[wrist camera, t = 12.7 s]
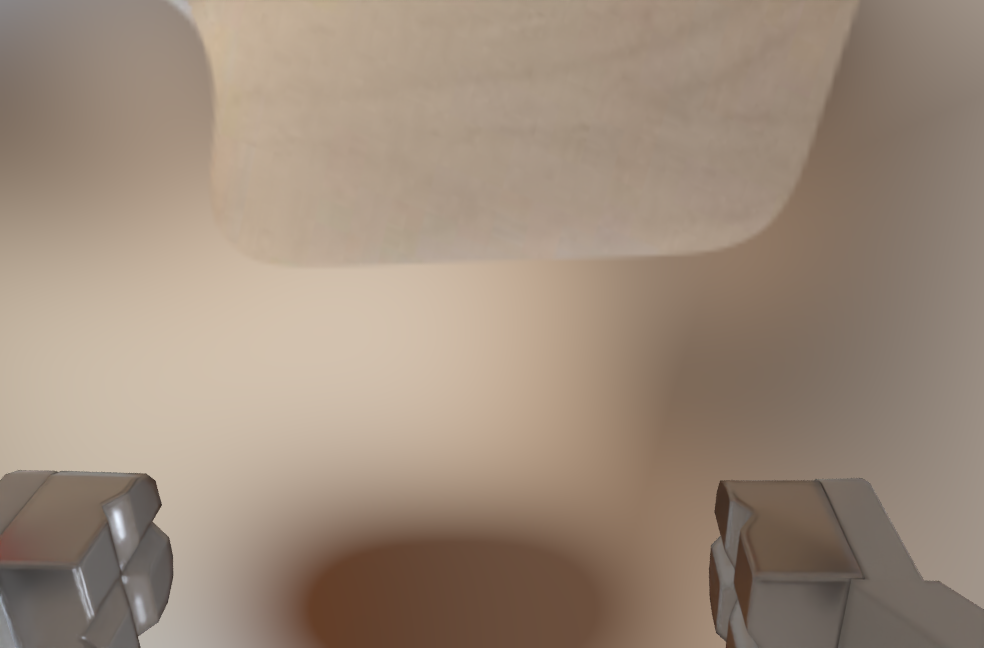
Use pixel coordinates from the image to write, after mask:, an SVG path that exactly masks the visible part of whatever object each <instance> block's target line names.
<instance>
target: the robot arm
mask: <svg viewBox="0 0 984 648" xmlns="http://www.w3.org/2000/svg"><path fill="white" fill-rule="evenodd" d="M161 506H162V504H161V500H160V496H159V493H158V489H157V485H156V481H155V480H154V479H152V478H151V477H150V476H149V475H147V474H141V473H111V472H77V471H60V472H57V471H26V470H23V471H22V470H18V471H15V472H12V473H8V474H6V475H4V477H3V478H2V479H1V480H0V648H140V644H139V640H138V636H139V635H141V634H142V633H144V632H145V631H146V630H148V629H149V628H151V627H152V626H154V625H155V624H156V623H158V621H159V619H160V617H161V615H162V613H163V611H164V609H165V607H166V605H167V603H168V599H169V594H170V589H171V585H172V580H173V554H172V549H171V544H170V540H169V537H168V536H167V535H166V534H165V533H164V532H163V531H162V530H160V528H159V527H157V526H156V525H155V524H154V523H153V522H152V521H153V519H154V518H155V516H156V514H157V513H158V511H159V509H160V507H161ZM715 515H716V519H717V523H718V527H719V530H720V535H721V536H720V537H719V538H718V539H717V540H716V541H715V542H714V543H713V544H712V545H711V553H710V567H709V586H710V602H711V609H712V615H713V620H714V625H715V630H716V633H717V634H718V635H719V636H720V637H721V638H722V639H724V640H725V641H726V648H984V609H982V608H981V607H979V606H977V605H976V604H974V603H973V602H971V601H969V600H968V599H966V598H965V597H963V596H961V595H960V594H958V593H957V592H955V591H954V590H952V589H951V588H949V587H947V586H946V585H944V584H942V583H941V582H940V581H924V580H923V578H922V576H921V574H920V572H919V571H918V569H917V567H916V565H915V563H914V562H913V560H912V558H911V556H910V555H909V553H908V551H907V549H906V547H905V545H904V544H903V542H902V540H901V538H900V536H899V534H898V533H897V531H896V529H895V527H894V525H893V524H892V522H891V520H890V518H889V517H888V515H887V513H886V511H885V509H884V507H883V506H882V504H881V502H880V500H879V498H878V497H877V495H876V493H875V492H874V489H873V488H872V486H871V484H870V483H869V482H867V481H866V480H864V479H862V478H851V479H815V480H814V481H813V480H811V481H810V480H807V481H805V480H803V481H802V480H801V481H799V480H798V481H795V480H793V481H792V480H791V481H784V480H783V481H778V480H777V481H776V480H775V481H773V480H772V481H770V480H765V481H764V480H763V481H720V483H719V487H718V490H717V496H716V504H715Z"/></svg>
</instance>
